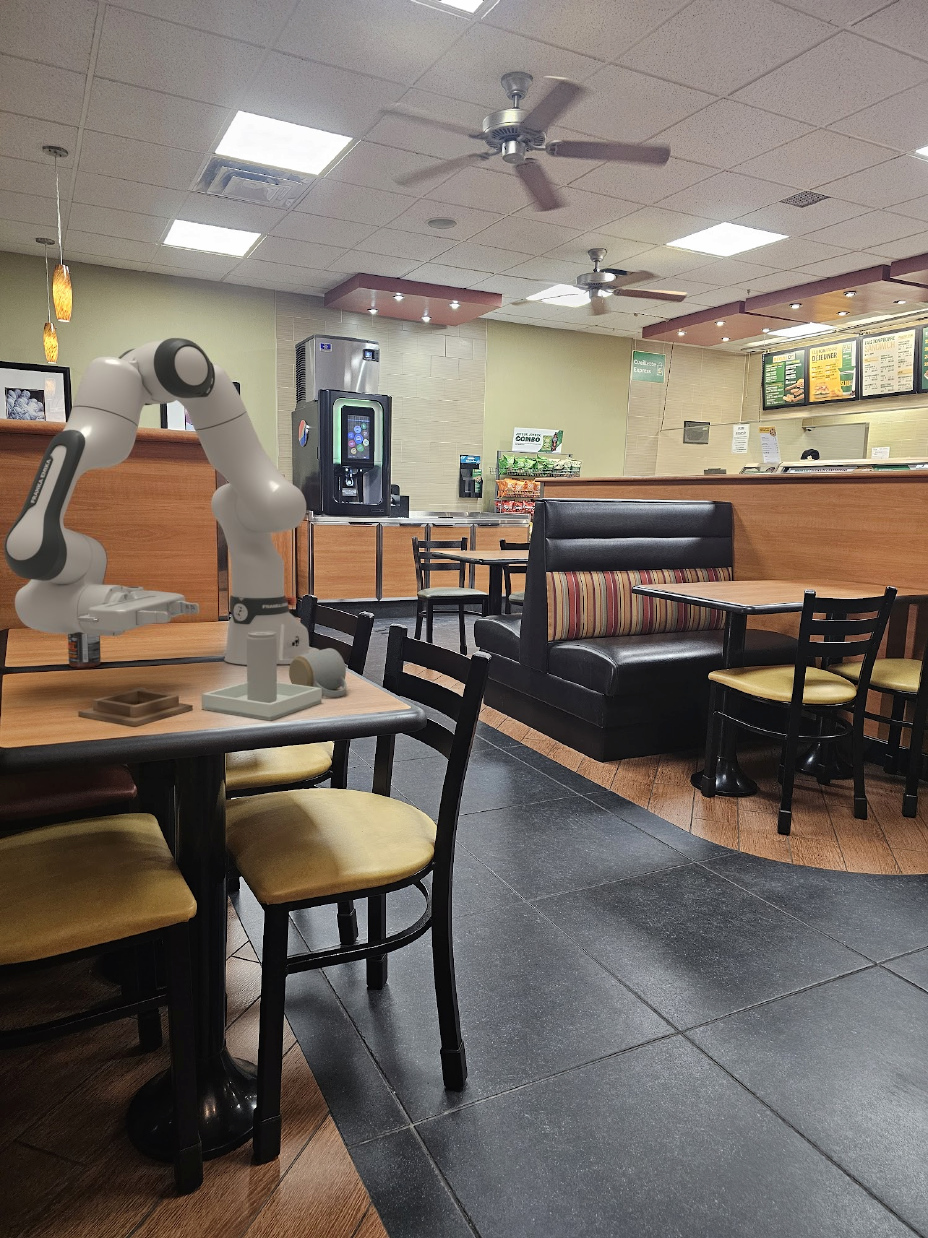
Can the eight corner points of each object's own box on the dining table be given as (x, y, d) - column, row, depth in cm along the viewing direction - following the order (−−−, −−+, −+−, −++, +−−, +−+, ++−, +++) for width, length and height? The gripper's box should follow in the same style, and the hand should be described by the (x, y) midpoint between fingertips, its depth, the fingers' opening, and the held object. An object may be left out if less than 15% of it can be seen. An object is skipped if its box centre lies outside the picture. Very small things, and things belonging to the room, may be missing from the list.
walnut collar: (138, 700, 134) (138, 686, 134) (192, 709, 130) (192, 695, 129) (78, 716, 124) (77, 700, 123) (134, 726, 119) (134, 710, 118)
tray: (257, 693, 143) (257, 679, 142) (321, 702, 137) (321, 688, 137) (201, 709, 130) (201, 694, 130) (270, 721, 124) (270, 704, 124)
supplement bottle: (62, 665, 161) (60, 610, 160) (90, 661, 166) (89, 608, 165) (78, 669, 158) (76, 613, 156) (106, 665, 163) (105, 611, 161)
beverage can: (268, 707, 130) (268, 635, 129) (241, 705, 131) (241, 634, 130) (281, 701, 135) (281, 631, 133) (255, 698, 136) (255, 630, 134)
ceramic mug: (285, 691, 145) (286, 650, 144) (320, 684, 151) (321, 645, 150) (322, 702, 138) (323, 659, 137) (357, 695, 144) (358, 654, 143)
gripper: (68, 600, 126) (148, 602, 123) (140, 585, 146) (210, 587, 143) (71, 639, 127) (150, 642, 124) (142, 619, 147) (212, 621, 144)
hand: (183, 612), depth 134 cm, fingers open, 8 cm apart
